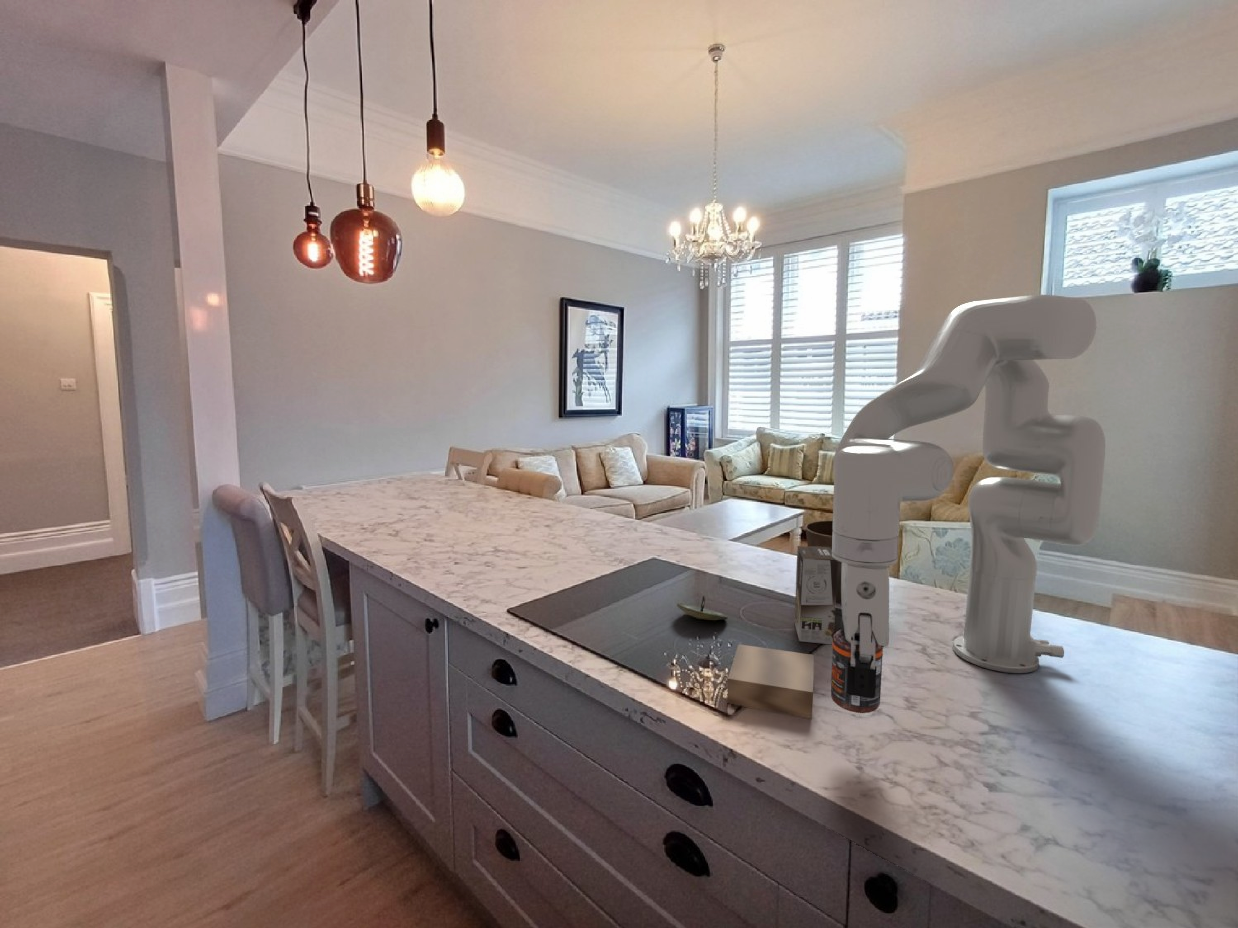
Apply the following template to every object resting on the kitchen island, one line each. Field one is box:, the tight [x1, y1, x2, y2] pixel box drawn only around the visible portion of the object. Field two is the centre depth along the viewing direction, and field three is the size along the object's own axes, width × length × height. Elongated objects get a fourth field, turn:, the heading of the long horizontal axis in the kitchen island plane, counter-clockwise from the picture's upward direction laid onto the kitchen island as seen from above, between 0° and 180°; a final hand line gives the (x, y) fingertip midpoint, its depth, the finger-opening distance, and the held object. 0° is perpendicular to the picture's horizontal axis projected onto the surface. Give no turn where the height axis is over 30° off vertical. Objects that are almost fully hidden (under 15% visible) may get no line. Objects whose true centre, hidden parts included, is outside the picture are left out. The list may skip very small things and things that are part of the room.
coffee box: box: [794, 545, 838, 645], centre depth 109 cm, size 9×6×16 cm
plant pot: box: [805, 520, 842, 605], centre depth 127 cm, size 15×15×16 cm
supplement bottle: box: [830, 615, 884, 714], centre depth 73 cm, size 6×6×11 cm
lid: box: [676, 595, 728, 621], centre depth 115 cm, size 11×10×5 cm
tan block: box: [726, 644, 814, 719], centre depth 89 cm, size 12×12×4 cm
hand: (859, 680), depth 74 cm, fingers closed on supplement bottle, 5 cm apart
